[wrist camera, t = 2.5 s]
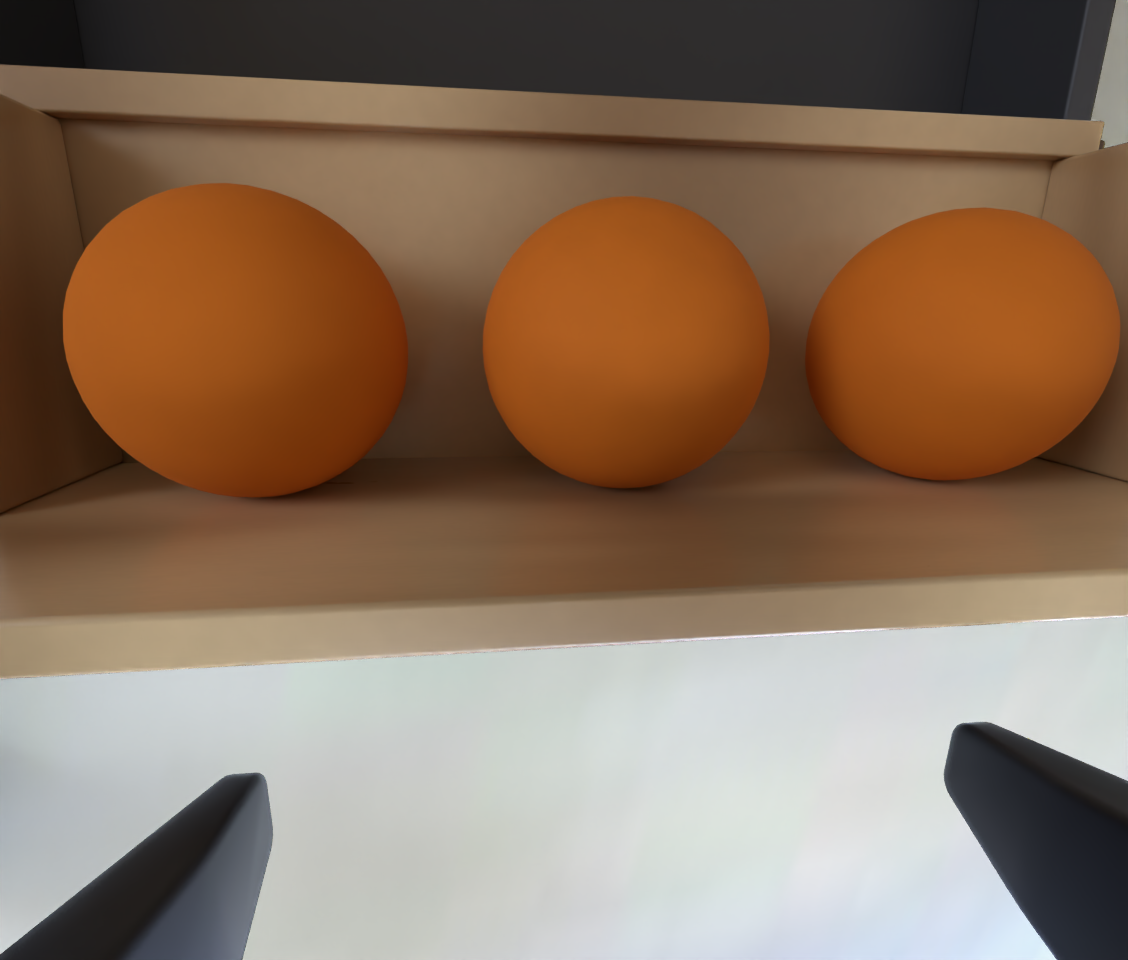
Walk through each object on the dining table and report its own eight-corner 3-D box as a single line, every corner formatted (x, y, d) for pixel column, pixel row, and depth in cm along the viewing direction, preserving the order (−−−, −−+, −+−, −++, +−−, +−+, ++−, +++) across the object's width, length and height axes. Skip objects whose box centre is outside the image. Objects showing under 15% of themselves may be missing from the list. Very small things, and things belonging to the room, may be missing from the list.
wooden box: (114, 486, 10) (-332, 702, 4) (37, 85, 8) (-771, -315, 3) (991, 467, 11) (1422, 602, 6) (1058, 135, 10) (1701, -60, 5)
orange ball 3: (746, 412, 10) (851, 538, 8) (796, 184, 9) (959, 234, 6) (936, 410, 11) (1106, 528, 8) (1023, 193, 9) (1285, 241, 6)
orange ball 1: (194, 419, 9) (63, 566, 6) (117, 161, 8) (-115, 206, 5) (427, 415, 10) (405, 554, 7) (408, 171, 8) (366, 217, 5)
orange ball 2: (485, 415, 10) (486, 550, 7) (479, 174, 8) (476, 220, 5) (695, 413, 10) (780, 540, 7) (734, 182, 9) (868, 231, 6)
